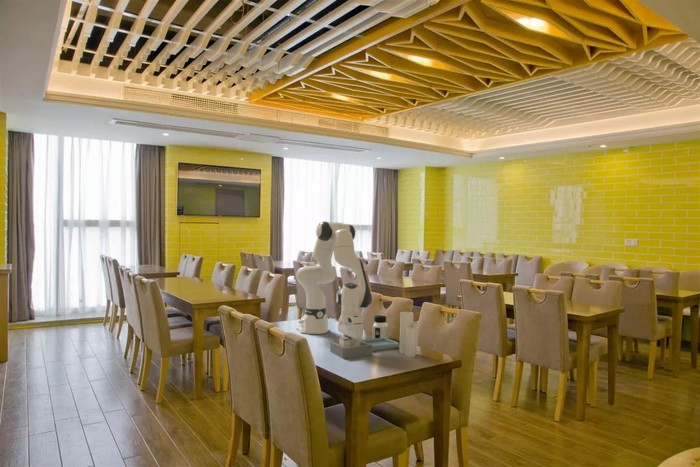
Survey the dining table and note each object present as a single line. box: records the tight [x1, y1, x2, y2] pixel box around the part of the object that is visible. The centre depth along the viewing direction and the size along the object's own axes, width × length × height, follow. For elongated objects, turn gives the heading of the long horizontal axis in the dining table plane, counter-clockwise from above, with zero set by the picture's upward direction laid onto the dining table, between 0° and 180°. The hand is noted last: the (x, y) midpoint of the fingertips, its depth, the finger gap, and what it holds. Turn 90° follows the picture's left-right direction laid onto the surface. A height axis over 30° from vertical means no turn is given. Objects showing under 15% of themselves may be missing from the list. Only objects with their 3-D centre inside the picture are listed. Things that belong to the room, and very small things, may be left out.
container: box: [371, 314, 389, 339], centre depth 276 cm, size 8×8×13 cm
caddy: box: [338, 335, 361, 348], centre depth 244 cm, size 5×9×8 cm, turn 118°
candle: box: [398, 311, 419, 358], centre depth 244 cm, size 11×7×20 cm, turn 27°
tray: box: [360, 337, 400, 352], centre depth 257 cm, size 14×18×2 cm
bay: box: [329, 339, 373, 360], centre depth 243 cm, size 15×15×5 cm
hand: (349, 344), depth 244 cm, fingers closed on caddy, 5 cm apart
